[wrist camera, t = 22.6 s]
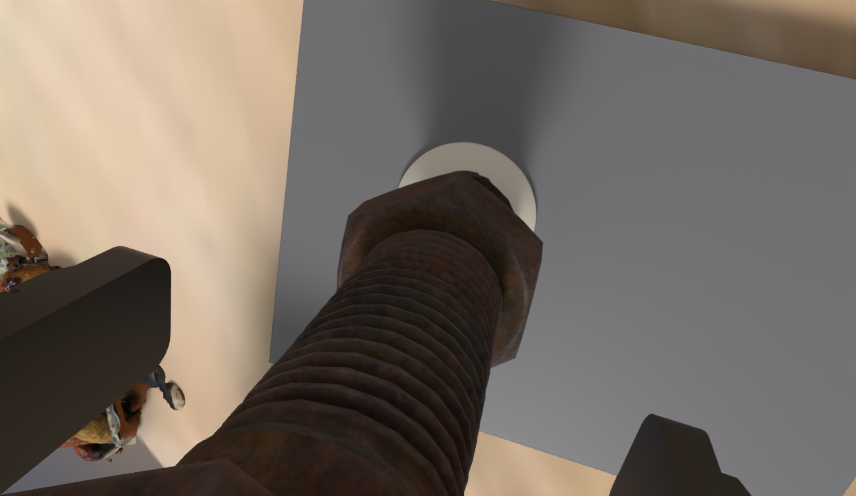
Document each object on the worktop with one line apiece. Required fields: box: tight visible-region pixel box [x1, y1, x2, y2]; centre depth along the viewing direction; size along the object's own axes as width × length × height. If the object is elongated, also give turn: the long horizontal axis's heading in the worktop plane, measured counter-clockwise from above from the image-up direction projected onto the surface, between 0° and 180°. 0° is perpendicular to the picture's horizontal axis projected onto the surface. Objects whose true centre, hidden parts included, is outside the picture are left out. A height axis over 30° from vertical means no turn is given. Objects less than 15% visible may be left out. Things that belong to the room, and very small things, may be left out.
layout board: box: [269, 0, 856, 496], centre depth 17 cm, size 20×14×1 cm
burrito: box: [0, 218, 185, 463], centre depth 23 cm, size 7×12×4 cm, turn 41°
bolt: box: [0, 170, 543, 496], centre depth 10 cm, size 6×5×15 cm
